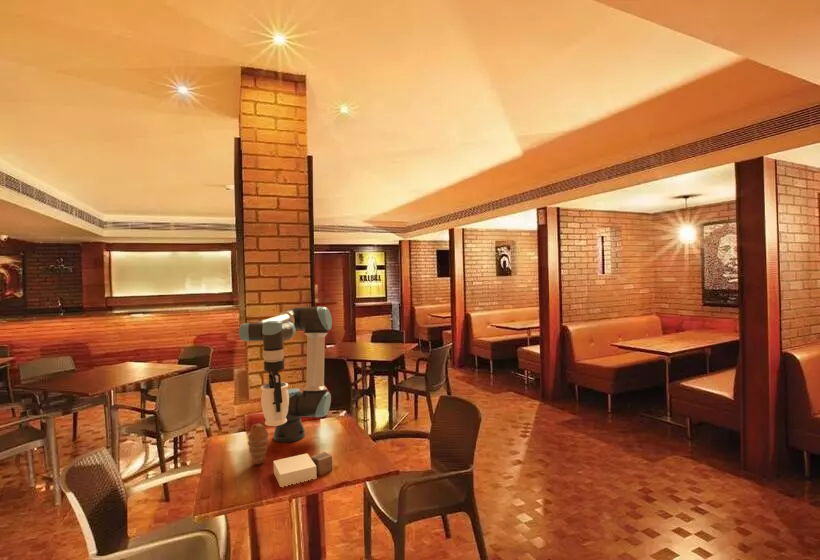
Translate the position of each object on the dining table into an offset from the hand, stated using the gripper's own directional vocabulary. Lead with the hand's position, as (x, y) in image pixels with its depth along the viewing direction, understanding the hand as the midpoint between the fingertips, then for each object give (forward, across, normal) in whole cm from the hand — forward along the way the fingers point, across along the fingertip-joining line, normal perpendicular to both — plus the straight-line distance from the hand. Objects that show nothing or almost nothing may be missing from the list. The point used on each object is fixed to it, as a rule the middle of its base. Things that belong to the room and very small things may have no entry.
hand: (276, 415), depth 171 cm
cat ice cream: (+26, -18, -5) cm, 32 cm away
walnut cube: (+26, +1, +17) cm, 31 cm away
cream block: (+25, +1, +6) cm, 26 cm away
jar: (+3, 0, 0) cm, 3 cm away
